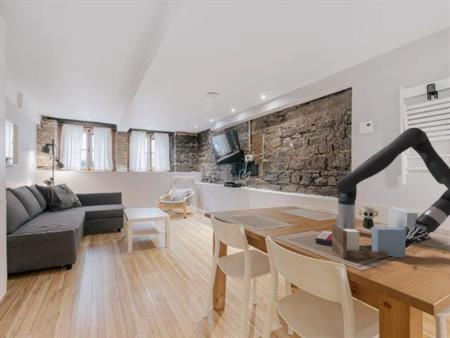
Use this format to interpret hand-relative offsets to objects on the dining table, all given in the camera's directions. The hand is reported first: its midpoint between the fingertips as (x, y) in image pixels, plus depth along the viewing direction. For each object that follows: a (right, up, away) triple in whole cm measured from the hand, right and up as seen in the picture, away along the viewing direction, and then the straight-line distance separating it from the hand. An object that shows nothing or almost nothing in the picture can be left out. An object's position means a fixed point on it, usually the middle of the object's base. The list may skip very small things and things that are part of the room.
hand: (403, 246), depth 107 cm
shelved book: (-24, -4, +1) cm, 24 cm away
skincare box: (+19, -4, +27) cm, 33 cm away
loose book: (-7, -4, 0) cm, 8 cm away
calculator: (-24, -5, +20) cm, 32 cm away
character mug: (+14, -4, +50) cm, 52 cm away
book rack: (-19, -4, 0) cm, 20 cm away
